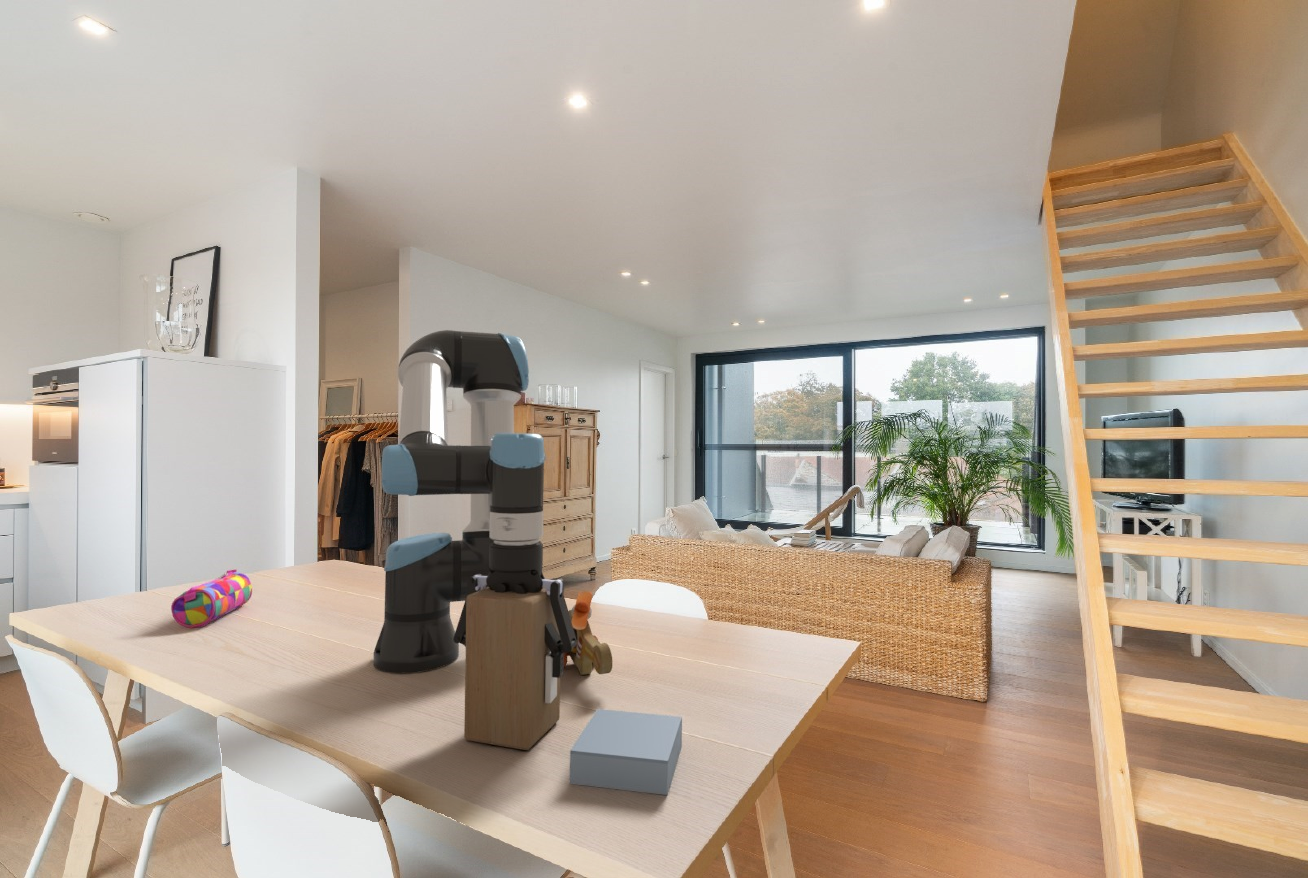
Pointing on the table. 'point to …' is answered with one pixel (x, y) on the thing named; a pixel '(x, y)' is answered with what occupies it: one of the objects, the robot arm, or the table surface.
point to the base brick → (627, 751)
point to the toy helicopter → (587, 640)
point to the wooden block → (507, 668)
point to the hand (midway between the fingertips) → (514, 695)
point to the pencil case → (211, 599)
